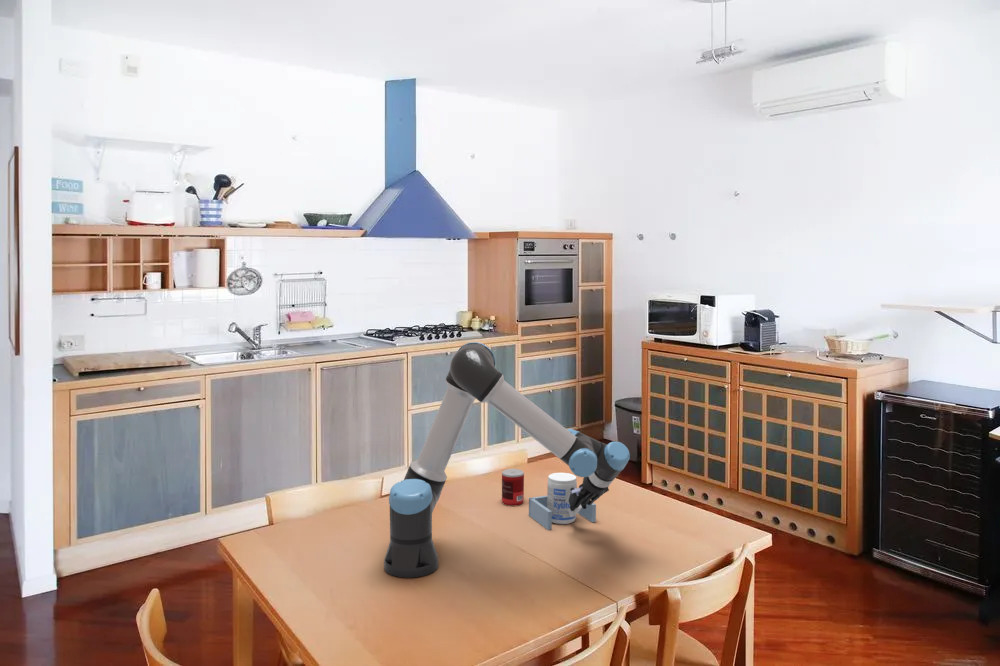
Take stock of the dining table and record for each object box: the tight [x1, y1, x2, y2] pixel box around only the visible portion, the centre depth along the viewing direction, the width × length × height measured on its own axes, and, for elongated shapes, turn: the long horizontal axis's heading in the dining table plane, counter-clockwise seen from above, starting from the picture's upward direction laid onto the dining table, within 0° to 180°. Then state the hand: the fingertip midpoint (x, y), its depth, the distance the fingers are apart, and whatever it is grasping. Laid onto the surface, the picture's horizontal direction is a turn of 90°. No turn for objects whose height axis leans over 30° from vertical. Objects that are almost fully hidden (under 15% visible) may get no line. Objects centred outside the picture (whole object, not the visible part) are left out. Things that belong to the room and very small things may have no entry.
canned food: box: [501, 468, 525, 506], centre depth 262 cm, size 8×8×11 cm
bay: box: [528, 494, 597, 531], centre depth 246 cm, size 14×17×6 cm
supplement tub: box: [546, 472, 578, 525], centre depth 245 cm, size 10×10×15 cm
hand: (571, 513), depth 240 cm, fingers closed
